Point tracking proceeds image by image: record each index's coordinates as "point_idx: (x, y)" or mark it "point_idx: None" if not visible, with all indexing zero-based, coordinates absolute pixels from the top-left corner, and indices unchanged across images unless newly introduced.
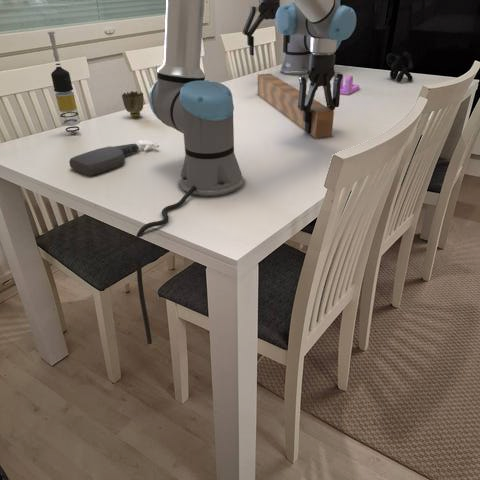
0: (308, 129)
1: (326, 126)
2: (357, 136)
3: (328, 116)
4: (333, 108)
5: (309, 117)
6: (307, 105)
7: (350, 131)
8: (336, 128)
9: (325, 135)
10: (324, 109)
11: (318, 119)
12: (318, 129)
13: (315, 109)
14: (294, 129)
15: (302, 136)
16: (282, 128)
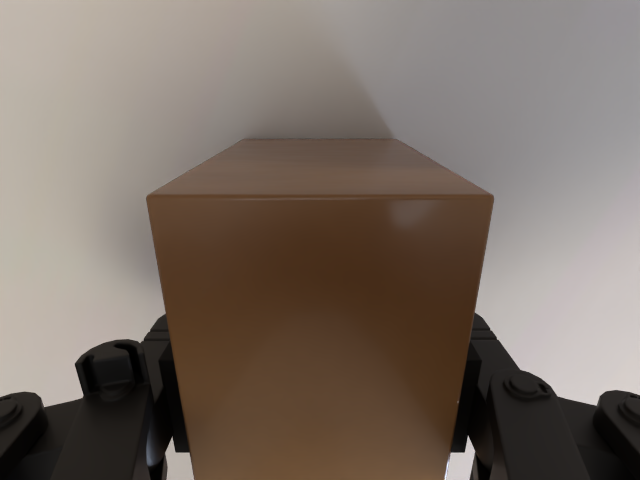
0: None
1: (296, 152)
2: (6, 62)
3: (266, 176)
4: (101, 359)
5: None
6: (580, 462)
7: (38, 208)
8: (133, 305)
9: (303, 141)
10: (277, 333)
11: (430, 168)
12: (389, 151)
13: (415, 375)
14: None
15: None
16: None
